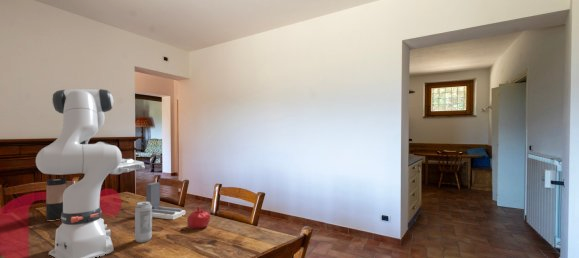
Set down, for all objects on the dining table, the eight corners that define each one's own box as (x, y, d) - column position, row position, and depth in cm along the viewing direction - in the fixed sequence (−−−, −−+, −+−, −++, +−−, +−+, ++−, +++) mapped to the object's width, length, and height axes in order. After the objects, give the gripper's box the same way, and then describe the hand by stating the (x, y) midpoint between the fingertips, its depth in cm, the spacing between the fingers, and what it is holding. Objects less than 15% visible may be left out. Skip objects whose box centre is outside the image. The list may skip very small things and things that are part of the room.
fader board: (185, 214, 143) (185, 208, 143) (173, 219, 135) (173, 213, 135) (153, 210, 150) (153, 204, 150) (140, 215, 141) (140, 209, 141)
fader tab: (161, 208, 146) (161, 182, 146) (152, 211, 141) (152, 184, 141) (153, 207, 148) (153, 182, 148) (144, 210, 142) (144, 184, 142)
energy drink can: (147, 236, 114) (148, 200, 114) (154, 239, 110) (154, 202, 110) (132, 240, 109) (132, 203, 109) (138, 244, 105) (138, 205, 105)
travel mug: (57, 221, 131) (57, 180, 131) (41, 221, 131) (41, 180, 131) (70, 216, 139) (70, 177, 139) (55, 216, 139) (55, 177, 139)
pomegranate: (203, 231, 119) (203, 210, 119) (182, 229, 121) (182, 209, 121) (213, 223, 129) (214, 204, 129) (194, 222, 131) (194, 203, 131)
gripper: (99, 163, 141) (119, 166, 137) (133, 158, 161) (151, 160, 156) (98, 175, 141) (118, 178, 137) (132, 168, 161) (151, 171, 157)
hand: (136, 169), depth 147 cm, fingers open, 8 cm apart
